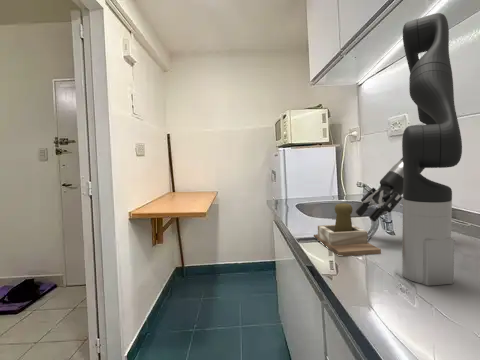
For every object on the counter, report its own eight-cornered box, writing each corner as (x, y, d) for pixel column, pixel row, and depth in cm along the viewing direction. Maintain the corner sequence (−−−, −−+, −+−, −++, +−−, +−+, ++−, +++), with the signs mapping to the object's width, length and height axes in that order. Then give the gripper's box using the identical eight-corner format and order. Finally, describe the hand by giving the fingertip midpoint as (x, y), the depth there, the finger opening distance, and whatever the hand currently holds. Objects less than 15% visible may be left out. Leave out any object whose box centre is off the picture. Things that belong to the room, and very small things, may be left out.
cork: (356, 241, 99) (356, 205, 98) (336, 241, 100) (335, 205, 99) (350, 236, 105) (350, 202, 104) (331, 236, 106) (331, 202, 105)
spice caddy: (381, 253, 91) (381, 236, 90) (339, 256, 89) (338, 239, 89) (348, 236, 110) (348, 222, 110) (313, 238, 109) (313, 224, 109)
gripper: (378, 169, 109) (345, 205, 109) (405, 171, 95) (367, 212, 95) (393, 184, 110) (361, 220, 110) (422, 188, 96) (385, 230, 96)
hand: (364, 216), depth 102 cm, fingers open, 8 cm apart
